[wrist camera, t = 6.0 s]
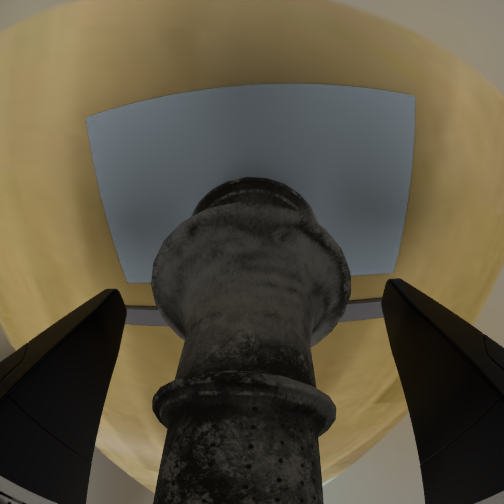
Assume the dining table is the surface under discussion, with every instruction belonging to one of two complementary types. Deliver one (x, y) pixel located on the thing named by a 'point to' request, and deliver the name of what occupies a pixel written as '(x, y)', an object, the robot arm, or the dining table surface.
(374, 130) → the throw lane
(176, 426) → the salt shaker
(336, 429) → the dining table surface
